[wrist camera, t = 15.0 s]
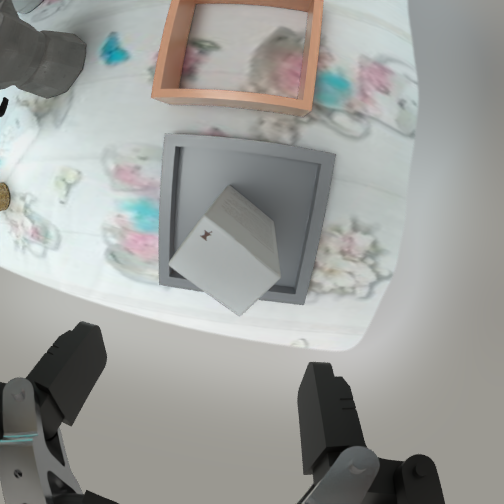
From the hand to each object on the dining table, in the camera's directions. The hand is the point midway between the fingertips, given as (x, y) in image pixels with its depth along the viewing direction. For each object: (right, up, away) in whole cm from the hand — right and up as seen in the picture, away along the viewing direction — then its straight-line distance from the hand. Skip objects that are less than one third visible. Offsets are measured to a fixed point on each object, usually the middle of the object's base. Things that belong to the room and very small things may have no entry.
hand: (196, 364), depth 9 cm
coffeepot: (-23, +27, +13) cm, 38 cm away
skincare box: (+1, +7, +19) cm, 20 cm away
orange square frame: (+1, +24, +13) cm, 28 cm away
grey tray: (+1, +8, +19) cm, 21 cm away
